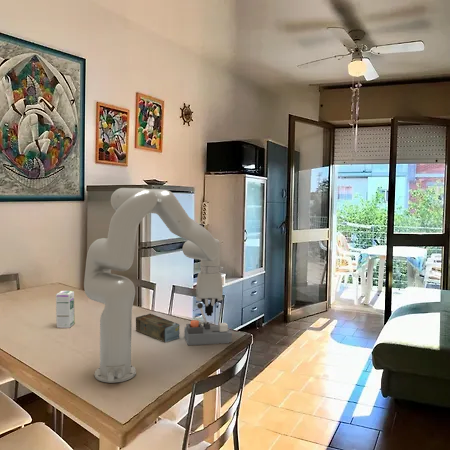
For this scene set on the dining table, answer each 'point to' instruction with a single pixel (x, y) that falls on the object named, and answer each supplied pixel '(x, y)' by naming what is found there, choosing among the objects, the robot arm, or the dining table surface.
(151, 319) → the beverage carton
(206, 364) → the dining table surface
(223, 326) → the slider
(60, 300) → the syrup box
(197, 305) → the lever
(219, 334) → the panel
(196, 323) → the button
